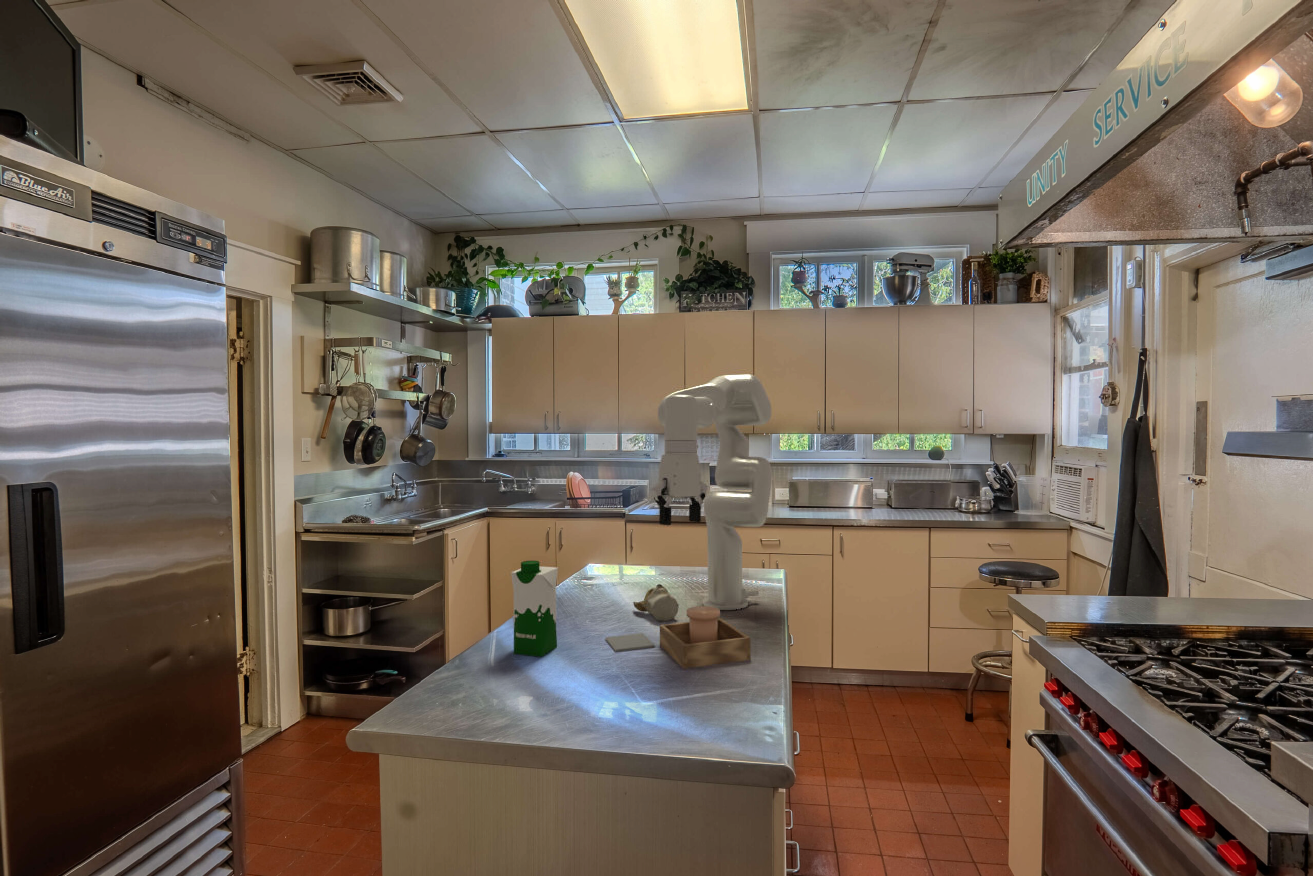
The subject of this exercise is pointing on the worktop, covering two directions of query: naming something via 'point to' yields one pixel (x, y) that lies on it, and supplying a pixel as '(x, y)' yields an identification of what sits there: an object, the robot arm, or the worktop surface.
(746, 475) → the robot arm
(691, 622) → the terracotta pot
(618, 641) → the slate tile
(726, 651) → the open wooden box
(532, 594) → the milk carton
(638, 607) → the ceramic sculpture
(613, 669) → the worktop surface
